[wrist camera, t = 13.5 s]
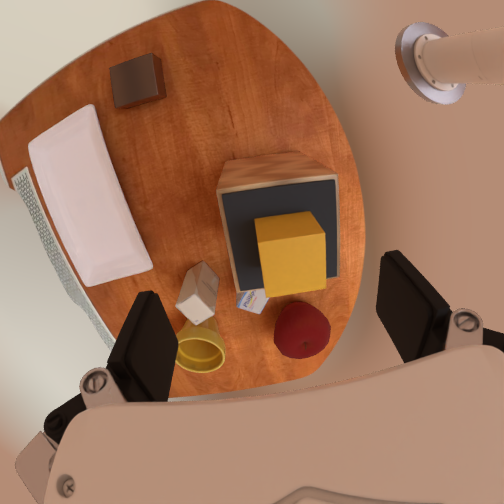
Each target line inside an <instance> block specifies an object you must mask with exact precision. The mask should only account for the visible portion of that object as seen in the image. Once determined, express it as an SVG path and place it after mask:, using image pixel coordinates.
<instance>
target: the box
mask: <svg viewBox="0 0 504 504" xmlns="http://www.w3.org/2000/svg"><path fill="white" fill-rule="evenodd" d="M218 285H219V277H218V276H217V275H216V274H215V273H214V272H213V270H212V269H211V268H210V267H209V266H208V265H207V264H206V263H205V262H204V261H201V262H200V263H198V264H197V265H195V266H194V267H192V268H191V269H190V270H188V271H187V273H186V276H185V279H184V282H183V285H182V288H181V291H180V294H179V297H178V300H177V303H176V308H177V309H178V310H179V311H181V312H182V313H183V314H184V315H185V316H186V317H187V318H188V319H189V320H190V321H191V322H192V323H193V324H195V325H198V324H199V323H201V322H203V321H205V320H206V319H208V318H210V317H211V316H213V315H214V314H215V306H216V299H217V292H218Z"/></svg>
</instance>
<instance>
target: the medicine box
mask: <svg viewBox="0 0 504 504" xmlns="http://www.w3.org/2000/svg"><path fill="white" fill-rule="evenodd" d="M268 300H269V298H266V295H265V289H261V290H254V291H247V292H240V293H237V296H236V307H238V308H241V309H244V310H247V311H250V312H254V313H257V314H260V313H261V312H262V310H263V308H264V307H265V305H266V303H267V301H268Z"/></svg>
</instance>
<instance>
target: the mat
mask: <svg viewBox="0 0 504 504" xmlns="http://www.w3.org/2000/svg"><path fill="white" fill-rule="evenodd" d="M222 201H223V206H224V212H225V217H226V222H227V227H228V232H229V238H230V243H231V248H232V253H233V258H234V263H235V268H236V273H237V278H238V283H239V288H240V291H247V290H254V289H261V288H264V282H263V275H262V268H261V262H260V255H259V248H258V241H257V234H256V227H255V220H254V219H256V218H263V217H270V216H277V215H284V214H291V213H299V212H306V211H310V212H311V213H312V215H313V216H314V218H315V219H316V221H317V222H318V223H319V225H320V226H321V228H322V229H323V231H324V232H325V241H326V278H331V277H337V206H336V184H335V180H334V179H330V180H321V181H311V182H303V183H294V184H286V185H279V186H271V187H264V188H257V189H250V190H244V191H237V192H231V193H225V194H222Z"/></svg>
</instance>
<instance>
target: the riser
mask: <svg viewBox="0 0 504 504" xmlns="http://www.w3.org/2000/svg"><path fill="white" fill-rule="evenodd" d="M330 179H334V180H335V184H336V206H337V277H340V206H339V182H338V174H337V173H336V172H334V171H332V170H331V169H329V168H328V167H326V166H324V165H323V164H321V163H319V162H317V161H316V160H314V159H312V158H310V157H309V156H307V155H305V154H303V153H302V152H300V151H296V152H286V153H278V154H270V155H262V156H255V157H248V158H242V159H235V160H229V161H226V162H225V165H224V167H223V170H222V173H221V176H220V179H219V182H218V185H217V188H216V194H217V199H218V204H219V209H220V215H221V220H222V225H223V230H224V235H225V240H226V245H227V249H228V254H229V259H230V264H231V269H232V274H233V278H234V283H235V288H236V292H237V293H240V292H247V291H254V290H261V289H264V288H261V289H254V290H247V291H240V288H239V283H238V278H237V273H236V268H235V263H234V258H233V253H232V248H231V243H230V238H229V232H228V227H227V222H226V217H225V212H224V206H223V201H222V194H225V193H231V192H237V191H244V190H250V189H257V188H264V187H271V186H279V185H286V184H294V183H303V182H311V181H321V180H330ZM337 277H331V278H337ZM331 278H326V279H331Z"/></svg>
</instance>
